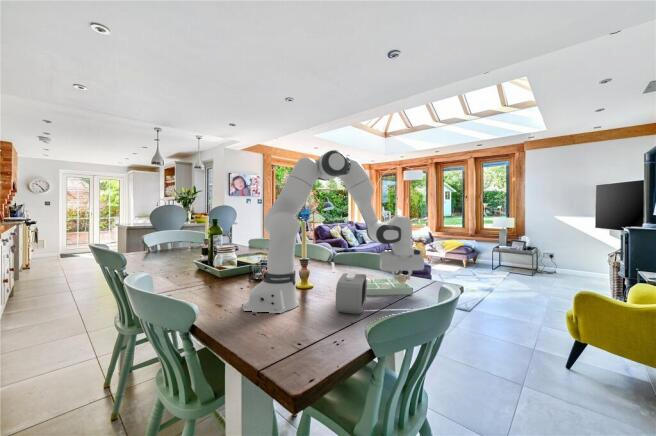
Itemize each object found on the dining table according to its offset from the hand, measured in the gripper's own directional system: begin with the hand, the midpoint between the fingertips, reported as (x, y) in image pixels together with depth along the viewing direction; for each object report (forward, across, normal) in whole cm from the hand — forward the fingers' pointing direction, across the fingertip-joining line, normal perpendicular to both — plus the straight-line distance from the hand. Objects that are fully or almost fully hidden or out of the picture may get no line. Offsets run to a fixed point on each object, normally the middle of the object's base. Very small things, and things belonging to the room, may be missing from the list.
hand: (401, 279), depth 129 cm
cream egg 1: (+6, -15, +7) cm, 18 cm away
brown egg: (+2, 0, 0) cm, 2 cm away
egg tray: (+6, -8, +4) cm, 10 cm away
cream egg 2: (+6, -8, 0) cm, 9 cm away
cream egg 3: (+6, 0, +7) cm, 9 cm away
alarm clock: (+6, -26, -16) cm, 31 cm away
